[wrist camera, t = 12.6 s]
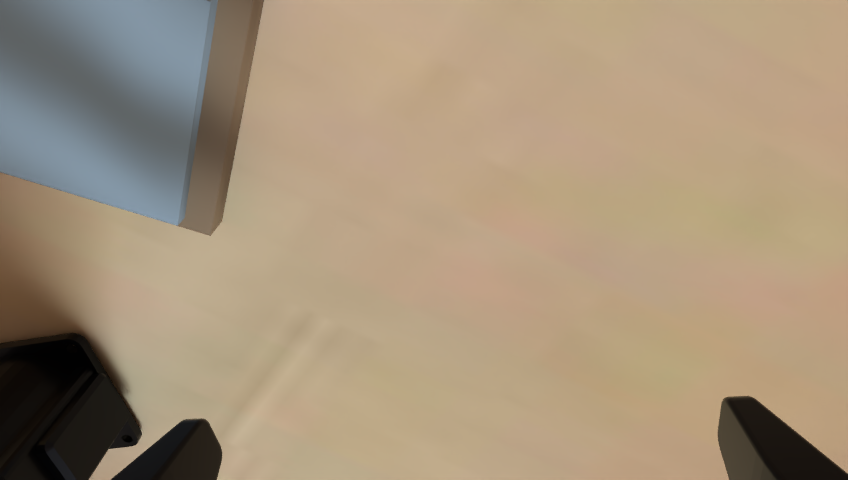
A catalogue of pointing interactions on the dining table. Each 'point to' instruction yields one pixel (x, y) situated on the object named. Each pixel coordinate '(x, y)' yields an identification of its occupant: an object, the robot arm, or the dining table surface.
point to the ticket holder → (127, 100)
